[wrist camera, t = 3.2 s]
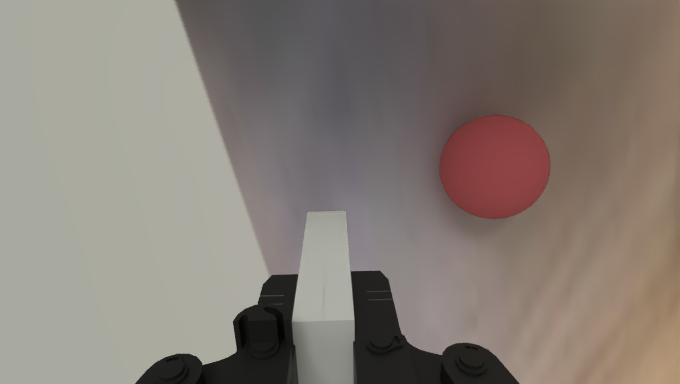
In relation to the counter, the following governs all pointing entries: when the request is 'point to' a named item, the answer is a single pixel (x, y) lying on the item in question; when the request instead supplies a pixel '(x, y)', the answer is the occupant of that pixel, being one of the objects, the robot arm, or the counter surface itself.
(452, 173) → the ball
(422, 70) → the counter surface
